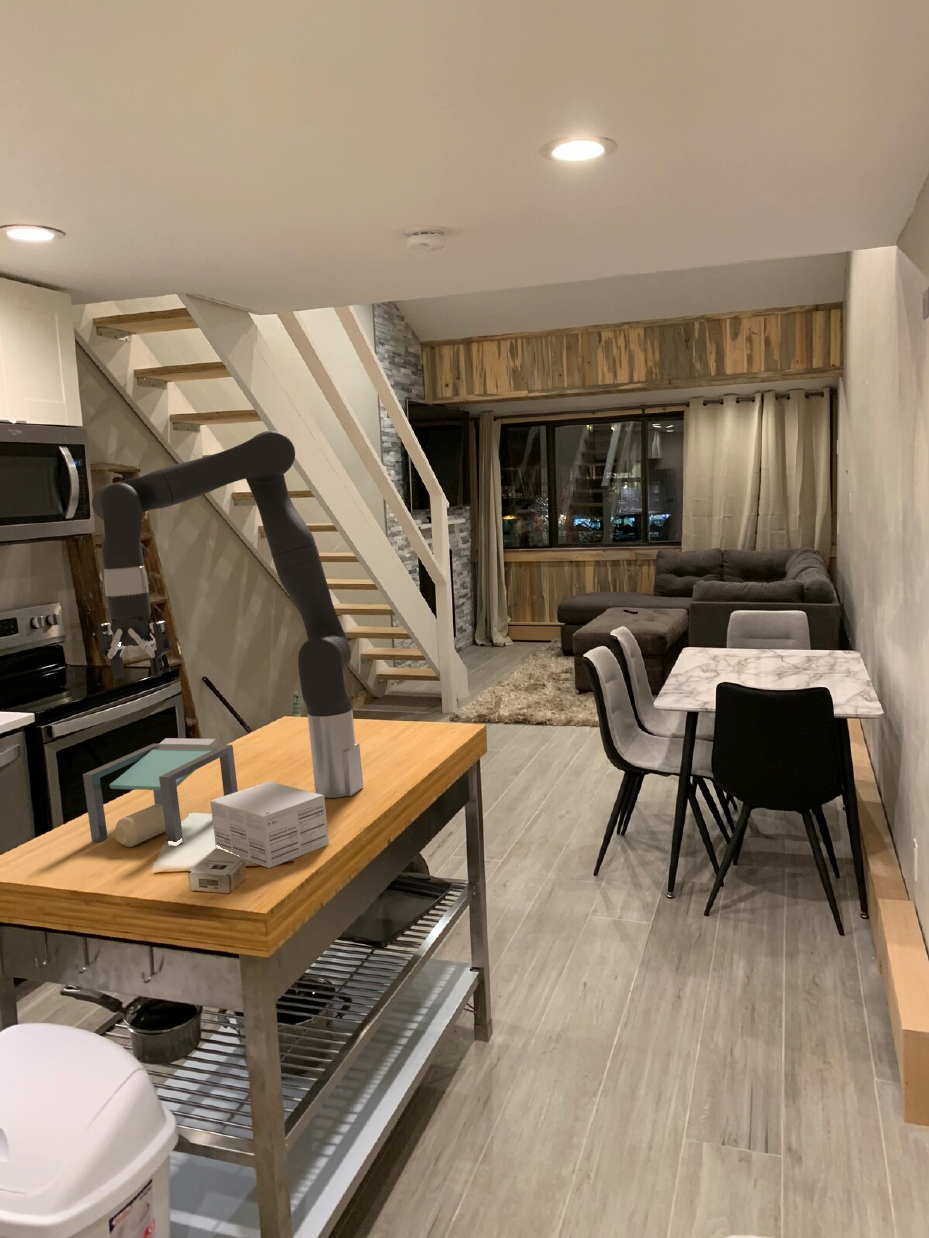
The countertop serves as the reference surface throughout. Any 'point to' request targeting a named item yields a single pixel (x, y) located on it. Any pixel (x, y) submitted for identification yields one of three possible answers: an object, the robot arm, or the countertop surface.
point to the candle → (140, 826)
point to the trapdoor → (163, 763)
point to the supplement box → (270, 823)
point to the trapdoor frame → (163, 796)
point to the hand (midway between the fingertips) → (138, 677)
